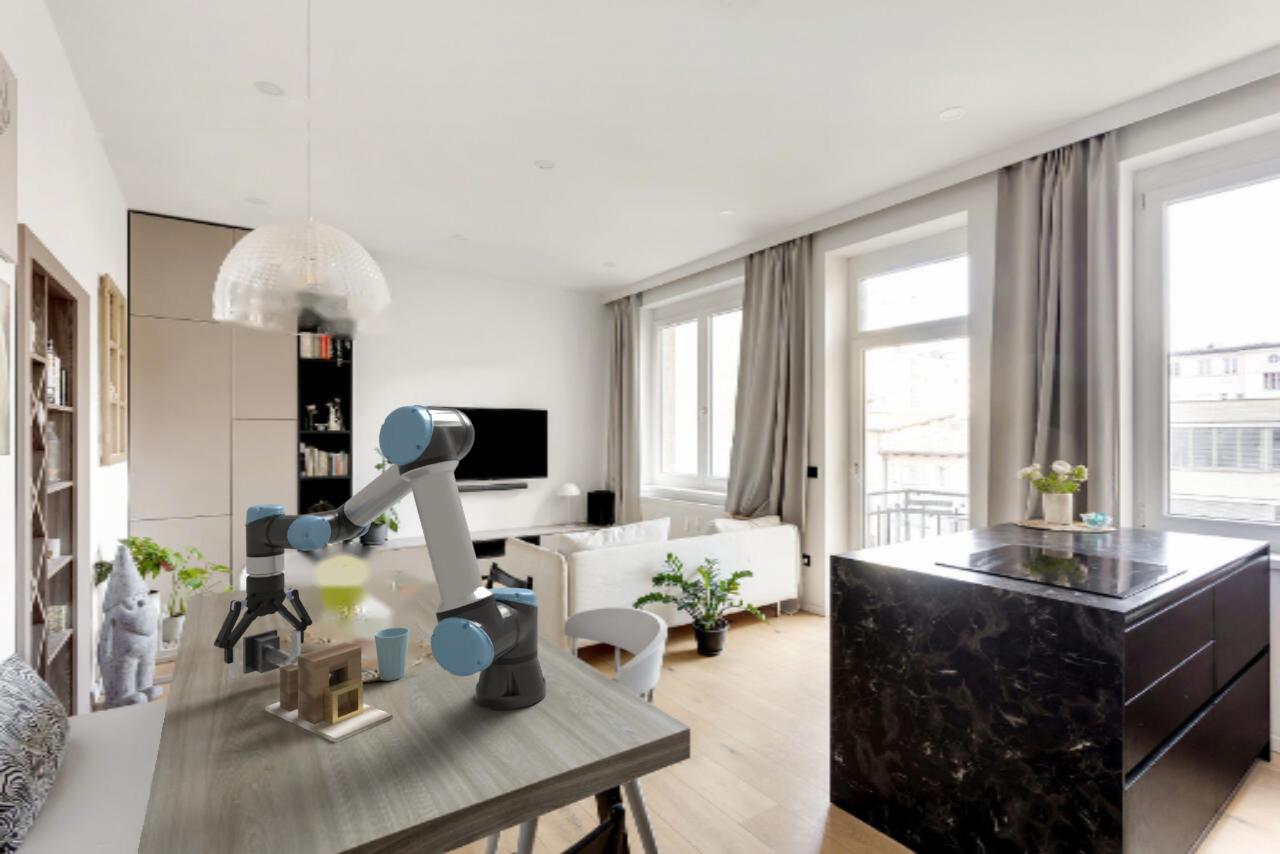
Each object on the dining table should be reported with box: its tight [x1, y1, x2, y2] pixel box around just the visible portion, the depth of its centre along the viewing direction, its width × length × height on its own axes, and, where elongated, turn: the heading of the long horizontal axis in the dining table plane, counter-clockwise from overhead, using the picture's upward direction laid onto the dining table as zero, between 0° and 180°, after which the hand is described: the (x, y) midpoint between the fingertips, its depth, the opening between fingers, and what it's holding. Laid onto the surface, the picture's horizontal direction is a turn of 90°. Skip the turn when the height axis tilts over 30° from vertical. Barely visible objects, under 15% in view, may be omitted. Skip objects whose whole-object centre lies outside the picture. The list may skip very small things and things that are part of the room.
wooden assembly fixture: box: [264, 641, 394, 743], centre depth 131 cm, size 26×12×13 cm, turn 56°
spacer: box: [324, 678, 364, 725], centre depth 128 cm, size 3×6×6 cm, turn 146°
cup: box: [374, 627, 410, 682], centre depth 151 cm, size 8×8×10 cm
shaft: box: [242, 629, 338, 684], centre depth 138 cm, size 29×7×8 cm, turn 56°
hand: (265, 667), depth 145 cm, fingers open, 13 cm apart
